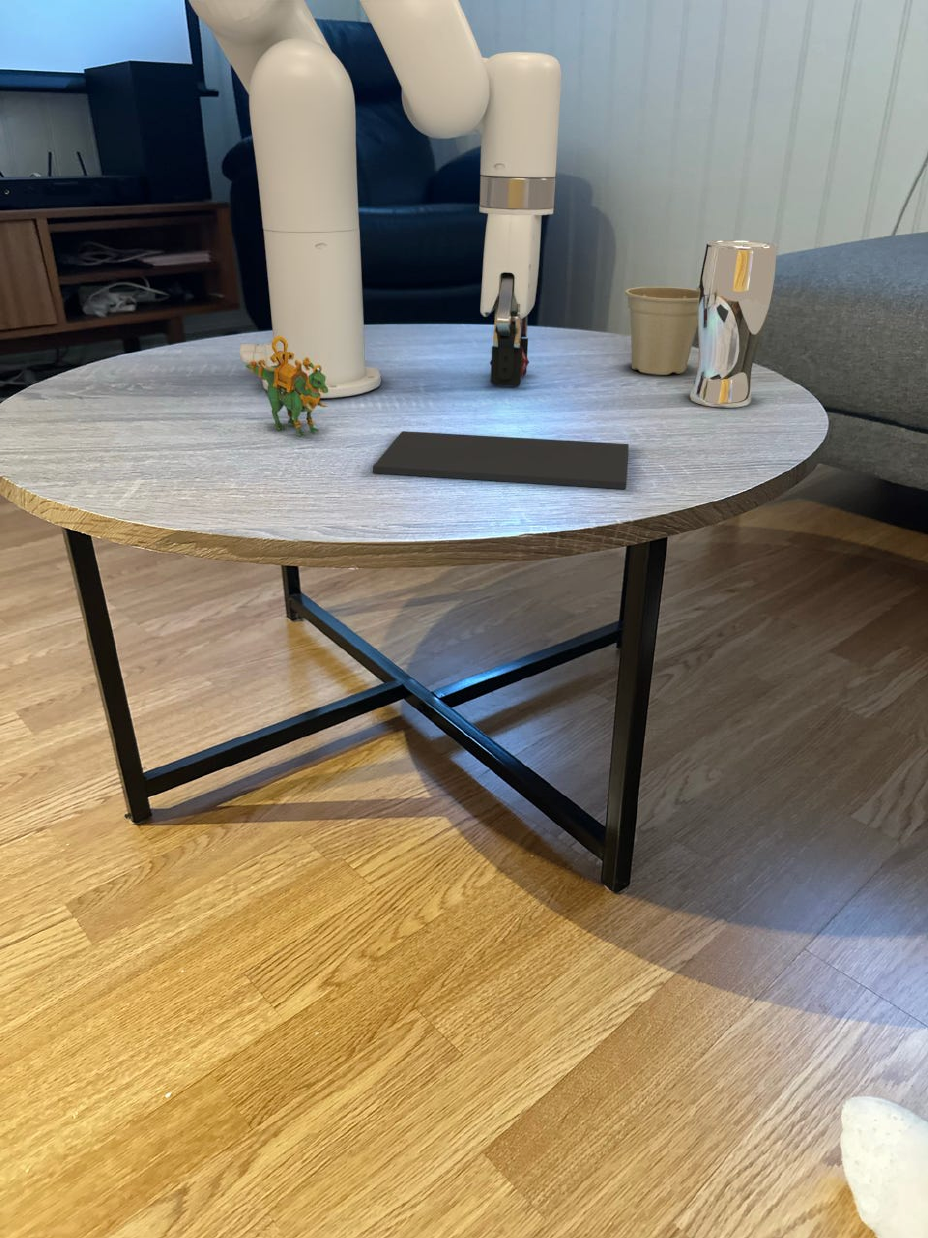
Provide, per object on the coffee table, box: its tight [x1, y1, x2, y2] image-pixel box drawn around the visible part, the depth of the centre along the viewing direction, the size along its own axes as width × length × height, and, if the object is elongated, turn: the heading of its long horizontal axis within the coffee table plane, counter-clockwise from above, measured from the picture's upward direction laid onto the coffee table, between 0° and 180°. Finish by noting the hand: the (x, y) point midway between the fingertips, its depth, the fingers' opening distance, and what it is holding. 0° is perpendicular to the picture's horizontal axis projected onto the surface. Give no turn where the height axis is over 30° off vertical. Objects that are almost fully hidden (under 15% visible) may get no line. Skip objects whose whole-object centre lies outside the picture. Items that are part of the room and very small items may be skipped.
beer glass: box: [689, 239, 778, 409], centre depth 90 cm, size 7×7×15 cm
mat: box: [372, 430, 630, 490], centre depth 75 cm, size 20×10×1 cm, turn 80°
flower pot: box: [624, 286, 699, 376], centre depth 103 cm, size 9×9×9 cm
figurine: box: [244, 336, 329, 437], centre depth 82 cm, size 3×12×8 cm, turn 46°
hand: (508, 377), depth 100 cm, fingers closed on dice, 4 cm apart
